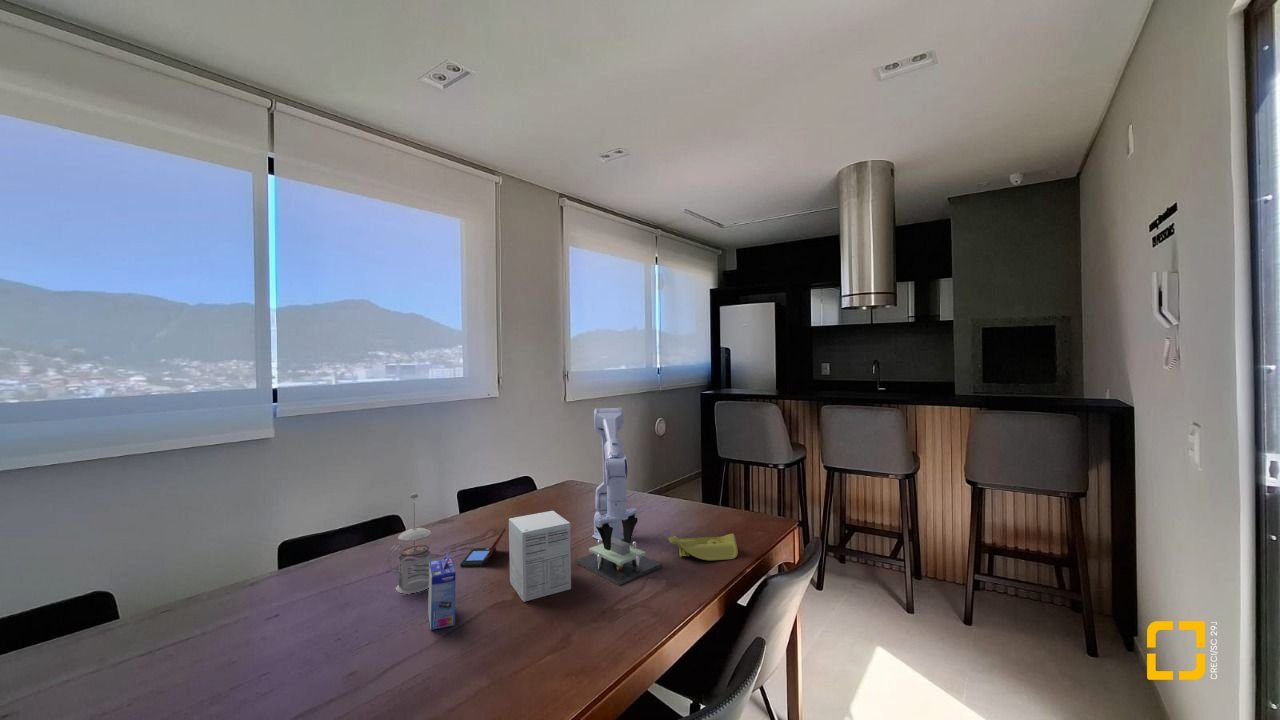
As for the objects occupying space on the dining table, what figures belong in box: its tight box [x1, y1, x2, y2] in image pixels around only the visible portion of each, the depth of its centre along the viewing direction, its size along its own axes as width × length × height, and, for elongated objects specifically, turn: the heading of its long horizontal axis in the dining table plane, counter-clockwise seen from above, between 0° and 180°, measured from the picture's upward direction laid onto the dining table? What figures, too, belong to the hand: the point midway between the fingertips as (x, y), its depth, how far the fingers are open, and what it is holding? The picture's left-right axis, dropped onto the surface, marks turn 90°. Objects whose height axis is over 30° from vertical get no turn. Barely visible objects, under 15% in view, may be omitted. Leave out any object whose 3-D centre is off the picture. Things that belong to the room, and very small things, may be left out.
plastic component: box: [668, 533, 739, 561], centre depth 144 cm, size 20×7×10 cm
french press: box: [386, 492, 432, 594], centre depth 127 cm, size 10×12×25 cm
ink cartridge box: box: [427, 552, 457, 631], centre depth 111 cm, size 10×6×14 cm, turn 27°
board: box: [588, 537, 647, 565], centre depth 138 cm, size 14×10×3 cm
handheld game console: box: [459, 528, 506, 568], centre depth 144 cm, size 12×11×7 cm
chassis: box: [575, 539, 662, 586], centre depth 138 cm, size 20×16×5 cm
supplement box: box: [508, 510, 572, 603], centre depth 126 cm, size 13×13×18 cm
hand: (617, 545), depth 138 cm, fingers open, 7 cm apart
